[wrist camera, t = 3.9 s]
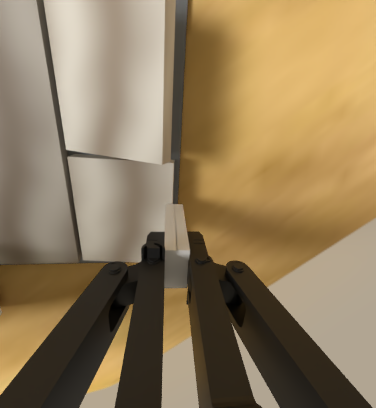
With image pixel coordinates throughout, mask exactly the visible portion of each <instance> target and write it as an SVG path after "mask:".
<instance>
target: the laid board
mask: <svg viewBox="0 0 376 408" xmlns="http://www.w3.org/2000/svg"><path fill="white" fill-rule="evenodd" d="M67 157H68V151H67V150H66V145H65V139H64V132H63V126H62V119H61V112H60V106H59V99H58V93H57V86H56V79H55V73H54V66H53V60H52V53H51V47H50V40H49V33H48V27H47V20H46V14H45V7H44V0H0V264H34V263H79V261H80V259H81V258H82V251H81V244H80V238H79V231H78V224H77V218H76V211H75V205H74V198H73V191H72V185H71V178H70V172H69V165H68V159H67Z"/></svg>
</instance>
